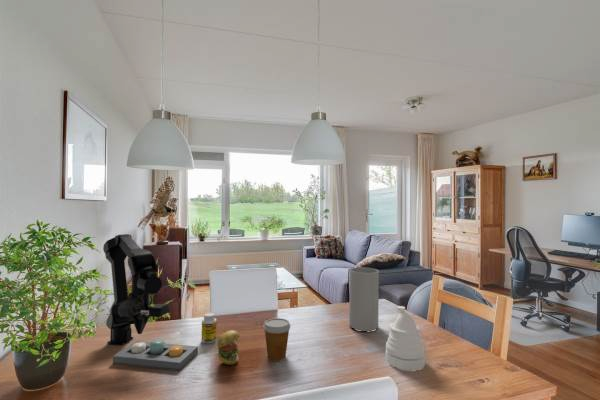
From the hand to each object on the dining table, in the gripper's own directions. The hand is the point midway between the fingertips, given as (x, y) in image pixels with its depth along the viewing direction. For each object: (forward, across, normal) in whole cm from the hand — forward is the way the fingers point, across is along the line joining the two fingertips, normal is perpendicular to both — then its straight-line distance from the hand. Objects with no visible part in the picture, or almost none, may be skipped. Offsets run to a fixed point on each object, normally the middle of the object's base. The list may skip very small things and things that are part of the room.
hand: (139, 333), depth 111 cm
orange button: (+7, +14, 0) cm, 15 cm away
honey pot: (+8, +90, +14) cm, 92 cm away
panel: (+8, +6, 0) cm, 10 cm away
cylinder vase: (+8, +78, +43) cm, 89 cm away
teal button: (+6, +6, 0) cm, 9 cm away
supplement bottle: (+8, +18, +17) cm, 26 cm away
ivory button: (+7, 0, 0) cm, 7 cm away
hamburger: (+8, +32, +2) cm, 33 cm away
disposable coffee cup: (+8, +46, +9) cm, 48 cm away
